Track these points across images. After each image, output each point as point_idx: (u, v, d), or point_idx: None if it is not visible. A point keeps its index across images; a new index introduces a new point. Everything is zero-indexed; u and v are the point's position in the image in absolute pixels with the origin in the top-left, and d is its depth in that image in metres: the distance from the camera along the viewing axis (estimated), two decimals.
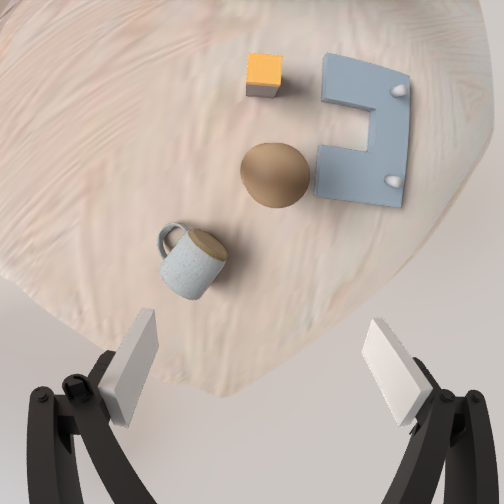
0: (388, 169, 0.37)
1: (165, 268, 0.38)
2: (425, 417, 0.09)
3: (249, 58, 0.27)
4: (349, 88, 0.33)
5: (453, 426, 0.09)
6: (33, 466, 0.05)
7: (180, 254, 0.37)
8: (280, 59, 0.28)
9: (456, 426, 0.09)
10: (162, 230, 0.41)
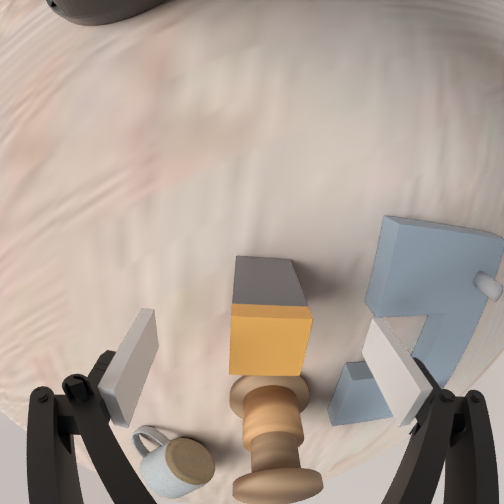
0: None
1: (147, 478, 0.24)
2: (425, 417, 0.09)
3: (233, 329, 0.14)
4: (418, 291, 0.19)
5: (453, 426, 0.09)
6: (33, 466, 0.05)
7: (161, 477, 0.23)
8: (307, 327, 0.14)
9: (457, 426, 0.09)
10: (135, 433, 0.27)
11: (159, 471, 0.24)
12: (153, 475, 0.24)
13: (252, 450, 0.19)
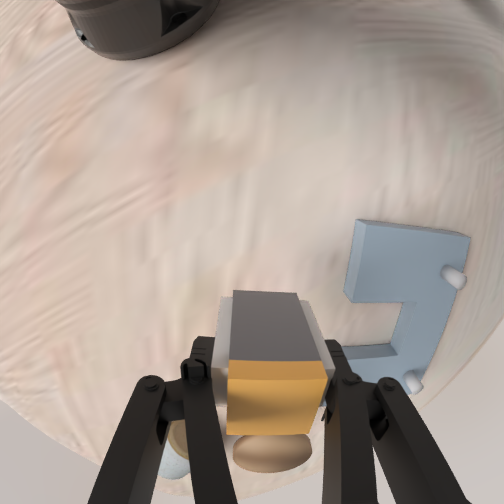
0: (411, 365, 0.28)
1: None
2: (333, 403, 0.11)
3: (230, 392, 0.10)
4: (388, 281, 0.25)
5: None
6: (116, 450, 0.07)
7: None
8: (320, 387, 0.10)
9: (369, 414, 0.10)
10: None
11: None
12: None
13: None
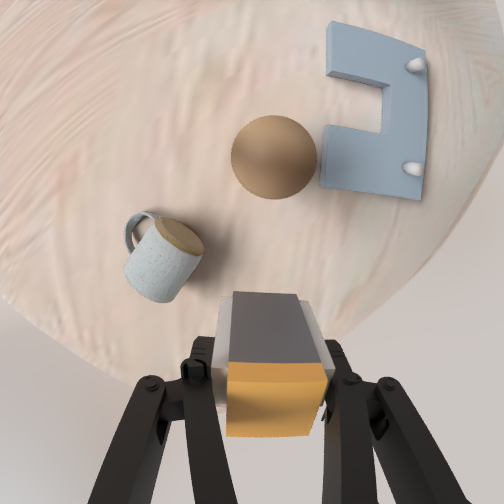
0: (406, 155, 0.30)
1: (129, 265, 0.31)
2: (333, 403, 0.11)
3: (230, 394, 0.10)
4: (358, 60, 0.26)
5: None
6: (116, 450, 0.07)
7: (145, 248, 0.30)
8: (320, 389, 0.10)
9: (369, 414, 0.10)
10: (129, 221, 0.34)
11: (145, 241, 0.30)
12: (137, 254, 0.30)
13: None
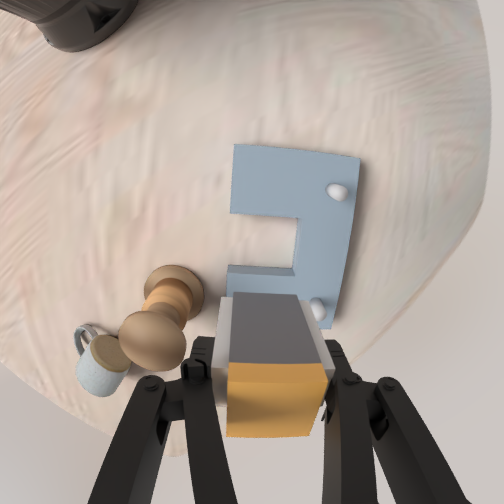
0: (315, 291, 0.34)
1: (78, 370, 0.34)
2: (333, 403, 0.11)
3: (230, 394, 0.10)
4: (263, 194, 0.30)
5: None
6: (116, 450, 0.07)
7: (85, 364, 0.33)
8: (320, 390, 0.10)
9: (369, 414, 0.10)
10: (76, 331, 0.37)
11: (85, 358, 0.33)
12: (81, 365, 0.34)
13: None
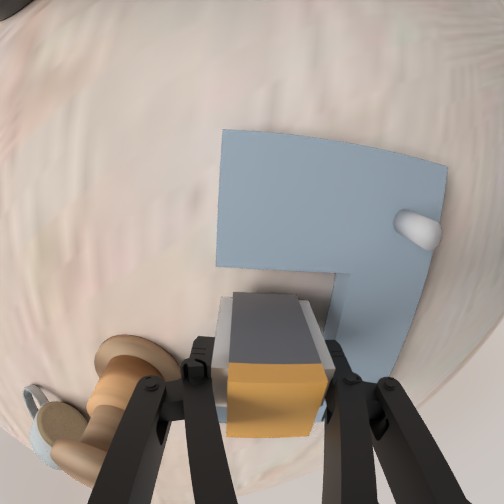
0: None
1: (31, 440, 0.19)
2: (333, 403, 0.11)
3: (230, 395, 0.10)
4: (282, 230, 0.15)
5: None
6: (116, 450, 0.07)
7: (35, 438, 0.18)
8: (320, 390, 0.10)
9: (369, 414, 0.10)
10: (24, 391, 0.22)
11: (34, 431, 0.19)
12: (32, 436, 0.19)
13: None
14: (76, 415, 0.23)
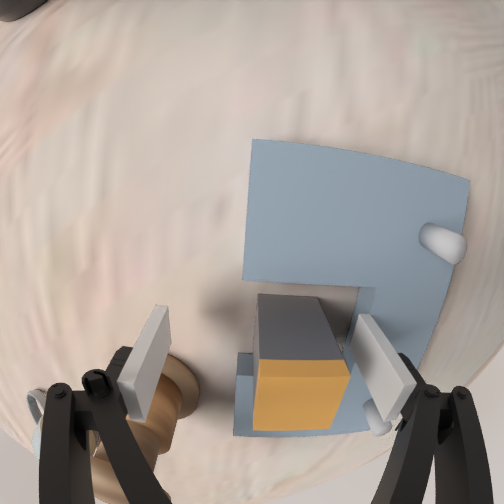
0: None
1: (33, 445, 0.19)
2: (410, 413, 0.10)
3: (261, 389, 0.11)
4: (311, 244, 0.15)
5: (439, 422, 0.09)
6: (46, 462, 0.05)
7: (38, 444, 0.18)
8: (343, 384, 0.11)
9: (443, 422, 0.09)
10: (28, 395, 0.22)
11: (37, 436, 0.18)
12: (35, 441, 0.18)
13: None
14: None
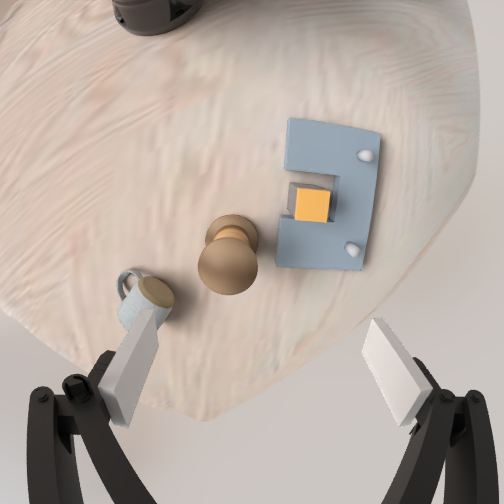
0: (349, 236, 0.41)
1: (121, 311, 0.41)
2: (425, 417, 0.09)
3: (299, 194, 0.34)
4: (311, 156, 0.38)
5: (453, 426, 0.09)
6: (33, 466, 0.05)
7: (132, 302, 0.40)
8: (328, 195, 0.34)
9: (457, 426, 0.09)
10: (120, 275, 0.44)
11: (131, 296, 0.40)
12: (126, 304, 0.41)
13: None
14: (165, 285, 0.45)
